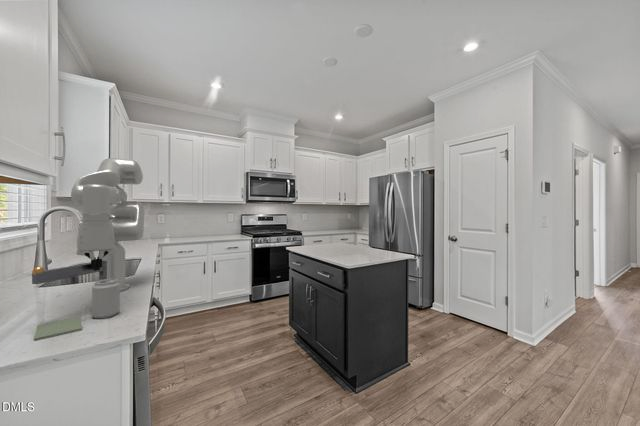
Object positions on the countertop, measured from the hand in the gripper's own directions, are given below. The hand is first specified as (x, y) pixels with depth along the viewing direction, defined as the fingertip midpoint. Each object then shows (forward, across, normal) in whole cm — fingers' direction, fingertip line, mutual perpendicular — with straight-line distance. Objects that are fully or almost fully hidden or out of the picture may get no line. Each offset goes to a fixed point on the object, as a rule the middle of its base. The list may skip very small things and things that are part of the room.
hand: (96, 269), depth 96 cm
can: (+15, -2, +7) cm, 17 cm away
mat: (+15, +10, +11) cm, 21 cm away
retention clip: (+14, +6, 0) cm, 15 cm away
